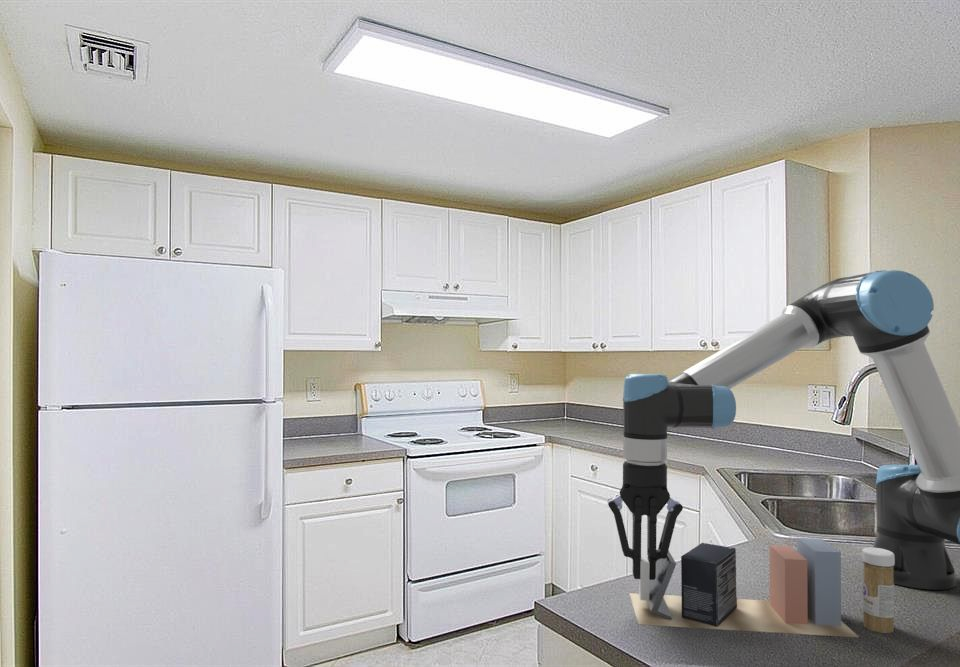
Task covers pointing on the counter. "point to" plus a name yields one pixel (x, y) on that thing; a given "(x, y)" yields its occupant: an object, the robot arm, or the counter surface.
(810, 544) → the book
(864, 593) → the sprinkles bottle
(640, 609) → the shelf board
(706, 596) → the small box
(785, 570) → the book
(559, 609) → the counter surface
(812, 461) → the counter surface
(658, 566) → the bookend
